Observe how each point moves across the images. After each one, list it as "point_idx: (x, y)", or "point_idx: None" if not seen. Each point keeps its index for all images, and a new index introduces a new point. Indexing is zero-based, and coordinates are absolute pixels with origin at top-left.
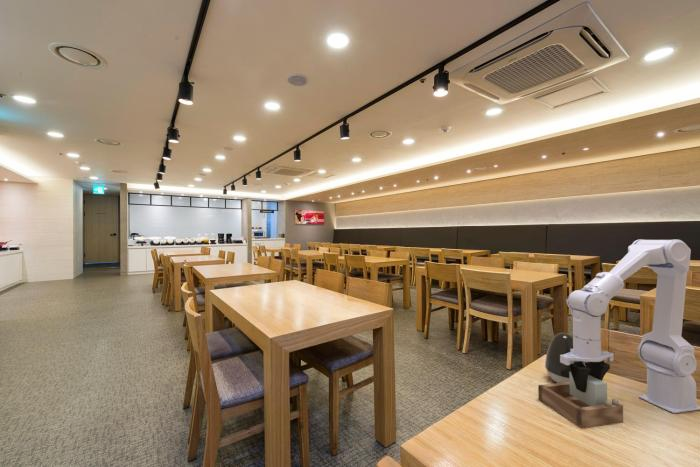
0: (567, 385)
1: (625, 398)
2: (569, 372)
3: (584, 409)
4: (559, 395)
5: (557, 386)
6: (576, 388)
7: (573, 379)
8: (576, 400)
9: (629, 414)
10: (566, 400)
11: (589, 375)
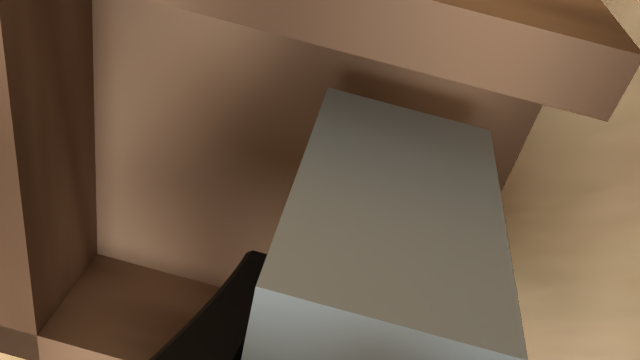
0: (392, 56)
1: None
2: (258, 279)
3: (44, 355)
4: (9, 165)
5: (210, 9)
6: (244, 258)
7: (194, 316)
8: (404, 92)
9: (597, 348)
10: (7, 239)
11: None
